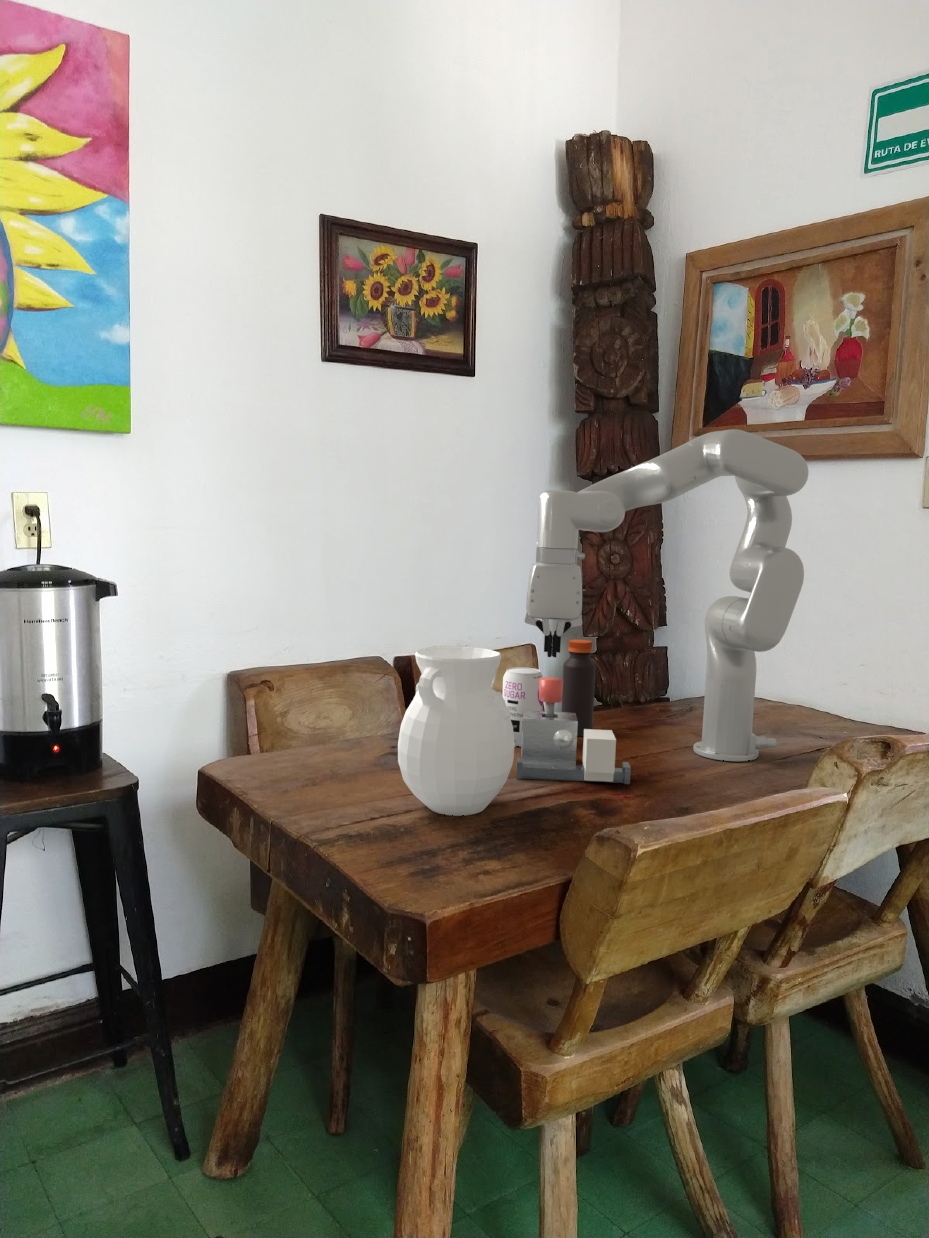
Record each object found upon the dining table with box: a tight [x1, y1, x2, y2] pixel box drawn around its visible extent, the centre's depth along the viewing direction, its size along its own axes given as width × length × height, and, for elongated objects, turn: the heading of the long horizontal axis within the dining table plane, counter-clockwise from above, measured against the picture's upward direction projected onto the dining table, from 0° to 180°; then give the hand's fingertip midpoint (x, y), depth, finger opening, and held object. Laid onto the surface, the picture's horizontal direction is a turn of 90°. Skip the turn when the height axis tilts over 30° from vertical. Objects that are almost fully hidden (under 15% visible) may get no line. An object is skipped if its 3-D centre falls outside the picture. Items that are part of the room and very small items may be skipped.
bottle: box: [560, 639, 596, 737], centre depth 197 cm, size 7×7×20 cm
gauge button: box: [539, 676, 563, 718], centre depth 173 cm, size 4×4×8 cm
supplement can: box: [502, 666, 544, 748], centre depth 188 cm, size 8×8×15 cm
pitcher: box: [397, 645, 516, 817], centre depth 146 cm, size 19×18×25 cm
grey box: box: [520, 710, 578, 766], centre depth 174 cm, size 10×7×9 cm
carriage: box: [582, 728, 617, 783], centre depth 164 cm, size 5×7×8 cm
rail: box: [515, 756, 632, 785], centre depth 164 cm, size 20×4×3 cm, turn 87°
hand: (551, 655), depth 172 cm, fingers closed
